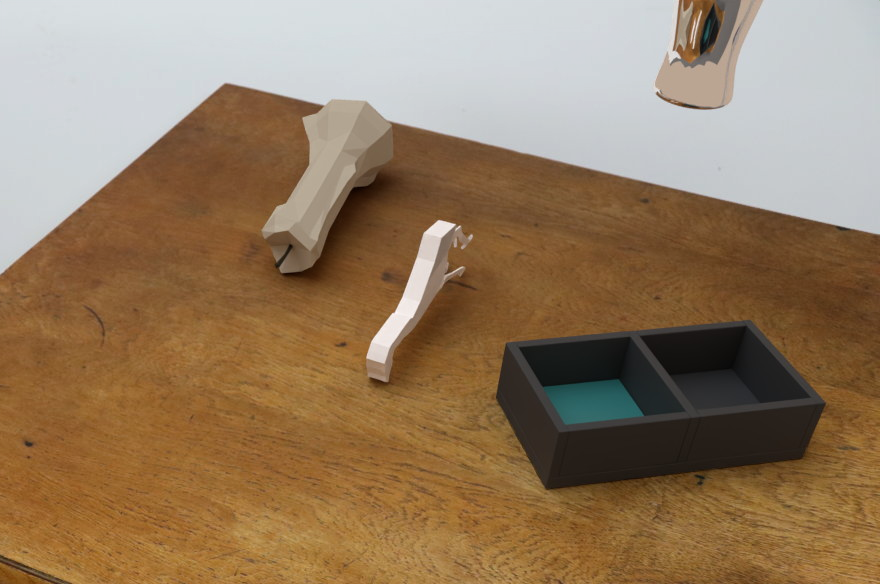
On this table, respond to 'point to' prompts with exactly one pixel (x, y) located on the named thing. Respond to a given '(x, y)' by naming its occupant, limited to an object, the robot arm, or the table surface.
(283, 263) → the faceted club
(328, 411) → the table surface
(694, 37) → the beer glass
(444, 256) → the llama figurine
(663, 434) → the divided box
